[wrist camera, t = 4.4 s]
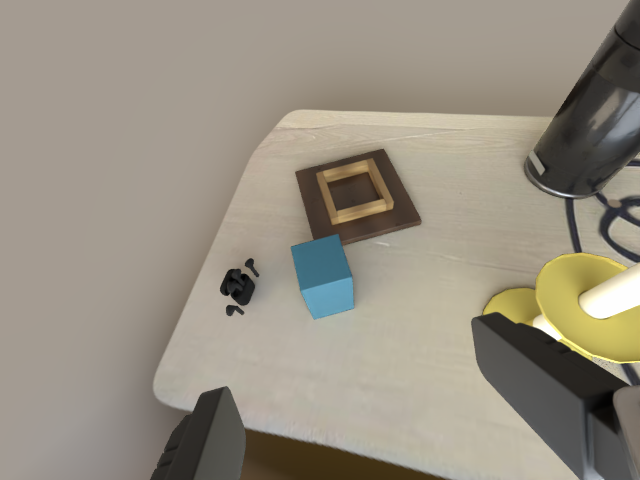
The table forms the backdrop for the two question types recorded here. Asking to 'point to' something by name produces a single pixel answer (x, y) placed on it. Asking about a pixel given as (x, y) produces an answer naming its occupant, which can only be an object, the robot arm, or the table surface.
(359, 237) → the square wooden socket base
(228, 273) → the wireless earbuds
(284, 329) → the table surface
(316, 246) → the post block
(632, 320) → the candle
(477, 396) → the table surface
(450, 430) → the table surface
